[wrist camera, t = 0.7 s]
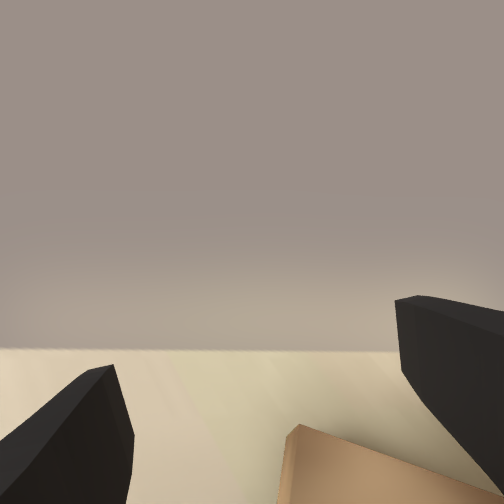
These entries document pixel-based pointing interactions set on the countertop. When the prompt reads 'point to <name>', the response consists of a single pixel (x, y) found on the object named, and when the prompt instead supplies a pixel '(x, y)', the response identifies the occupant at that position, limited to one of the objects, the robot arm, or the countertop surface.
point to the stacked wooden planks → (362, 476)
